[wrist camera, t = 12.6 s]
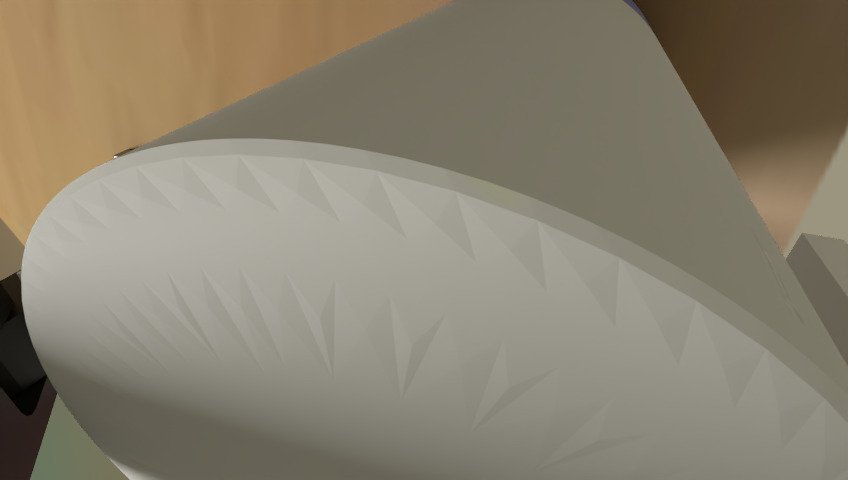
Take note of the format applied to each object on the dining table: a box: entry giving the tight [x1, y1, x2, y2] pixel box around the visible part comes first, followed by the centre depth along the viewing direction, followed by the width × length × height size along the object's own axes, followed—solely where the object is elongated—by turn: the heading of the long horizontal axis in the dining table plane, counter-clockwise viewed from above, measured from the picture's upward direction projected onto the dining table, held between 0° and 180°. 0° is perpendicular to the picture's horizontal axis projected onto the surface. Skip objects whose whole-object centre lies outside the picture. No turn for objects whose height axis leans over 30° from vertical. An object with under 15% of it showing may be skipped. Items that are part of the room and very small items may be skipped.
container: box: [21, 0, 848, 480], centre depth 13 cm, size 10×10×20 cm
